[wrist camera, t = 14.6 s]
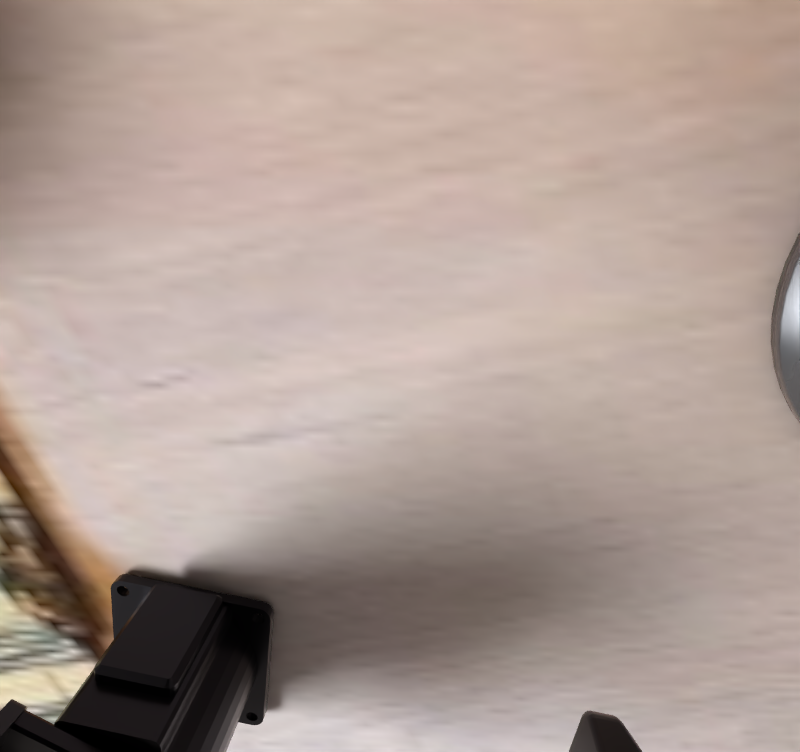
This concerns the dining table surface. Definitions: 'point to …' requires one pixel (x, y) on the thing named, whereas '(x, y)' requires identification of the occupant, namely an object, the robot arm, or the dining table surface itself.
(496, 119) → the dining table surface
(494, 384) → the dining table surface
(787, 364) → the collar
